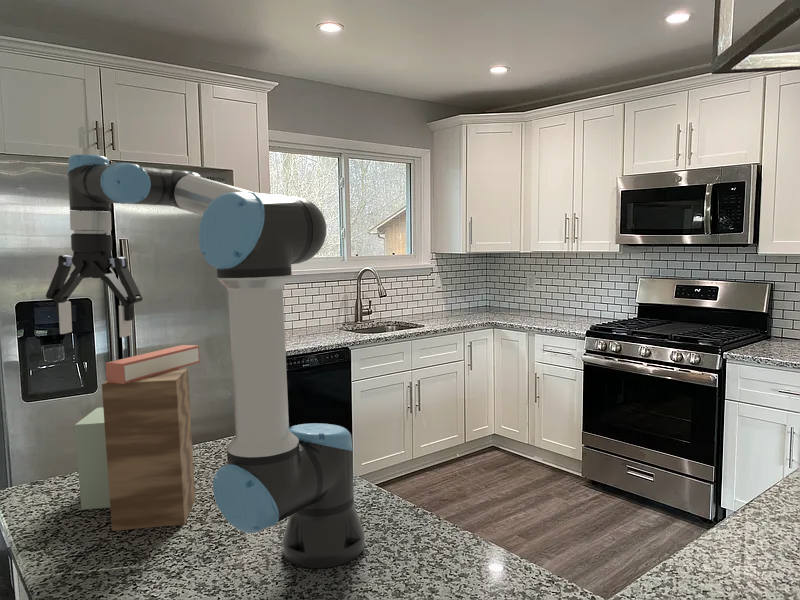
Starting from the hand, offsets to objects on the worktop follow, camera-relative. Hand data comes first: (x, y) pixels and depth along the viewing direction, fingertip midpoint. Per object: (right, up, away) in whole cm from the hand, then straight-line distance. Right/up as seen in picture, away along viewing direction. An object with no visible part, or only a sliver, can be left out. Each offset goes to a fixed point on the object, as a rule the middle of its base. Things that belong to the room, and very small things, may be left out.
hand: (95, 334), depth 125 cm
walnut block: (+12, -38, +2) cm, 40 cm away
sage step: (-1, -38, +13) cm, 40 cm away
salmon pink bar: (+11, -8, +3) cm, 14 cm away
